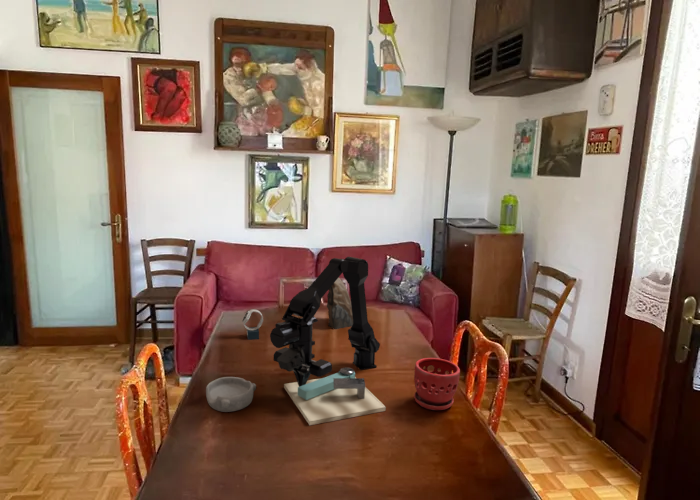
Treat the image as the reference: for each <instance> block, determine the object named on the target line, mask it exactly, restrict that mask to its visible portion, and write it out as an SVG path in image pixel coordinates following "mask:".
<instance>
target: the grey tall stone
mask: <svg viewBox="0 0 700 500" xmlns="http://www.w3.org/2000/svg"><path fill="white" fill-rule="evenodd" d="M326 297H327V302H326V303H327V304H326V308H327V310H328V311H327V313H328V323H327V324H328V325H327V326H328V327H329V328H332V330H340V329H344V328H351V326H352V325H353V316H352V307H351V298H350V293H349V292H348V289H347V287H346V285H345V283H344V282H343V281H342V280H341V278H340V276H339V277H338V279H337V280H336V281H335V282H334V284H333V285H332V286H331V287H330V288H329V290H328V291H327V295H326Z"/></svg>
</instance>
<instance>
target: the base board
mask: <svg viewBox="0 0 700 500" xmlns="http://www.w3.org/2000/svg"><path fill="white" fill-rule="evenodd" d="M322 378H323V377H322ZM322 378H321V377H319V378H315V379H308V380H307V382H306V384H308V383H311V382H314V381H316V380H319V379H322ZM355 378H357V377H356V376H355ZM298 387H299V385H298V382H297V381H295V382H289V383H287V382H286V383H284V384H283V388H284V390H285V391H286V392H287V394H288V395H289V397H290V399H291V401H292V402H293V404H294V405H295V406H296V408H297V409H298V410H299V412H300V413H301V415H302V417H303V418H304V419H305V421H306V423H308V426H314V425H319V424H325V423H329V422H334V421H340V420H345V419H350V418H354V417H360V416H366V415H370V414H377V413H381V412H386V410H387V409H386V408H387V407H386V405H384V404H383V402H382V401H380V400H379V399H378V398H377V397H376V396H375V395H374V394H373V393H372V392H371V391H370V390H369V389H368V388H367V387H366V386H365V398H364V399H358V397H357V389H333V390H331V391H328V392H326V393H323V394H320V395H318V396H315V397H313V398H310V399H308V400H305V399H304V398H302V397H300V396H298Z"/></svg>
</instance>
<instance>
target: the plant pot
mask: <svg viewBox="0 0 700 500" xmlns="http://www.w3.org/2000/svg"><path fill="white" fill-rule="evenodd" d="M430 366H432V367H433V370H432V371H429V369H428V368H429V367H430ZM424 367H425V368H424ZM439 369H440V371H439ZM447 372H448V374H447ZM413 373H414V375H413V376H414V377H413V378H414V380H413V381H414V387H415V392H414V394H413V397H414V400H415V402H416V403H417V405H420V407H422V408H425V409H427V410H430V411H431V410H432V411H443V410H448V409H449V408H450V407H452V406H453V404H454V398H453V397H454V396H455V394H456V392H457V389H458V386H459V382H460V381H459V380H460V375H461V369H460V367H459V366H458V365H457V364H456V363H454V362H451V361H450V360H447V359H442V358H437V357H424V358H420V359H418V360H417V361H415V365H414V372H413Z"/></svg>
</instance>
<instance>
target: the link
mask: <svg viewBox="0 0 700 500" xmlns="http://www.w3.org/2000/svg"><path fill="white" fill-rule="evenodd" d="M355 377H356V372H355V371H354V373H353V374H352V375H343V374H341V373H340V370H339V371H338V372H336V373H333V374H330V375H328V376H326V377H325V376H324V377H322V379H320V378H318V379H319V380H316V381H314V382H311V383H308V384H305V385H303V386H300V387H298V396H300V397H302V398H304V399H305V400H308V399H310V398H313V397H315V396H318V395H320V394H323V393H326V392H328V391H331V390H333V389H334V386H333V378H355Z"/></svg>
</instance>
